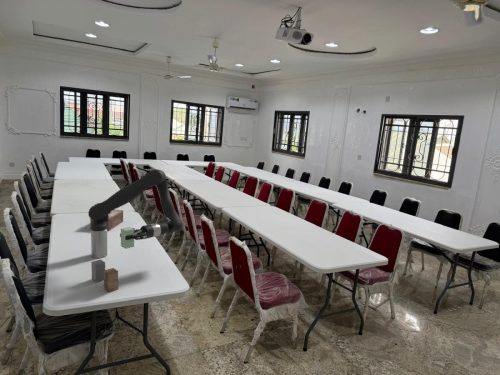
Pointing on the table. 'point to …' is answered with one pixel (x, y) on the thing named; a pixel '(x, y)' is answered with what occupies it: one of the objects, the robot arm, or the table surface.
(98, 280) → the charcoal block
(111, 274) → the walnut block
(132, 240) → the sage block
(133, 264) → the table surface
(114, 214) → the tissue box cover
